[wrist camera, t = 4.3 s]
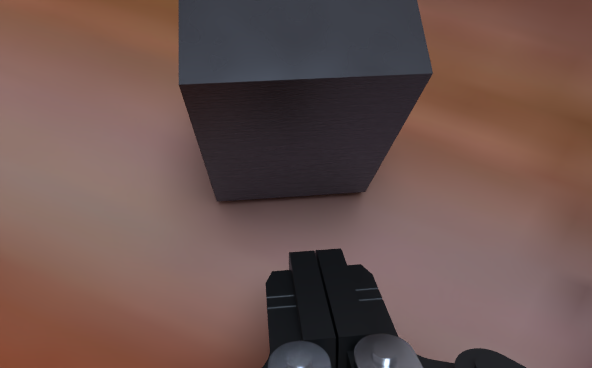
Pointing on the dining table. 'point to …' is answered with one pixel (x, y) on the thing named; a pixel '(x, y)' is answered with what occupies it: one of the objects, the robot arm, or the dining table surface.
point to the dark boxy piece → (298, 90)
